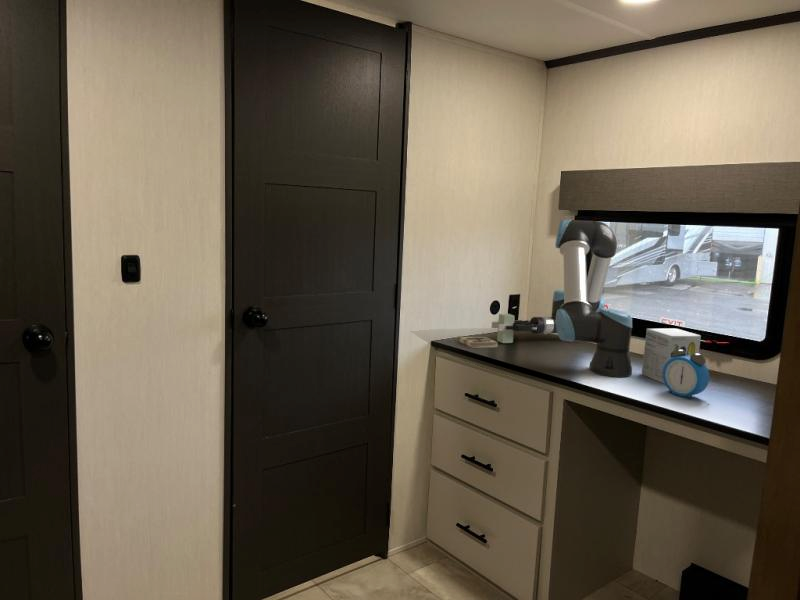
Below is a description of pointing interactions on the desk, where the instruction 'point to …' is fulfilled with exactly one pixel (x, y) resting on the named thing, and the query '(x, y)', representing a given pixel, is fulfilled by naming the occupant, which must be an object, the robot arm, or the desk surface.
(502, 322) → the sage pillar
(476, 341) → the letter tile
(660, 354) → the supplement box
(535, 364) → the desk surface
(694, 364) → the alarm clock
